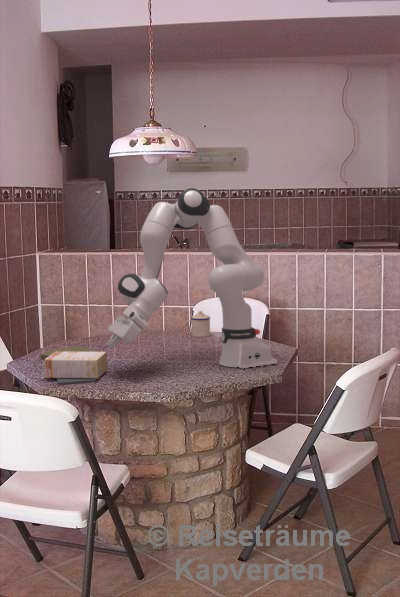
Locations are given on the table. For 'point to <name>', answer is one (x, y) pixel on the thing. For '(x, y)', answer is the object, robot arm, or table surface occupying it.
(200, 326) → the teacup with lid
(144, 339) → the table surface
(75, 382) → the mat
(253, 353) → the robot arm
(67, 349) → the decorative tile
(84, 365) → the coffeecake box
